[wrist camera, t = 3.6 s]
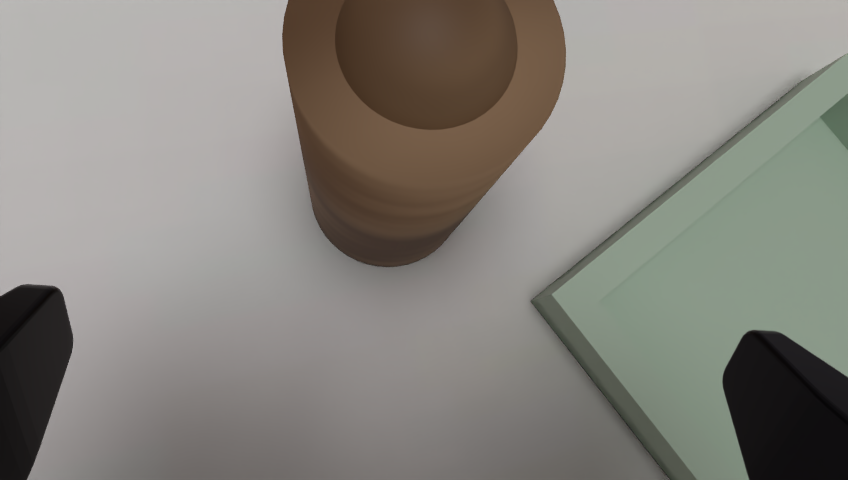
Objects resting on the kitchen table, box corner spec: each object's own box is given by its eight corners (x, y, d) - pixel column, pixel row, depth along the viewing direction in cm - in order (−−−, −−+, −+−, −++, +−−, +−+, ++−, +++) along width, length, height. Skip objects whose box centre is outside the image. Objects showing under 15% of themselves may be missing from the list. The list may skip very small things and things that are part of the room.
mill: (491, 207, 21) (653, 42, 10) (372, 297, 20) (409, 222, 9) (401, 92, 21) (463, -188, 10) (279, 175, 20) (207, -38, 9)
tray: (1049, 372, 22) (1120, 373, 20) (798, 642, 20) (851, 675, 18) (802, 80, 23) (847, 53, 21) (530, 301, 21) (551, 294, 19)
